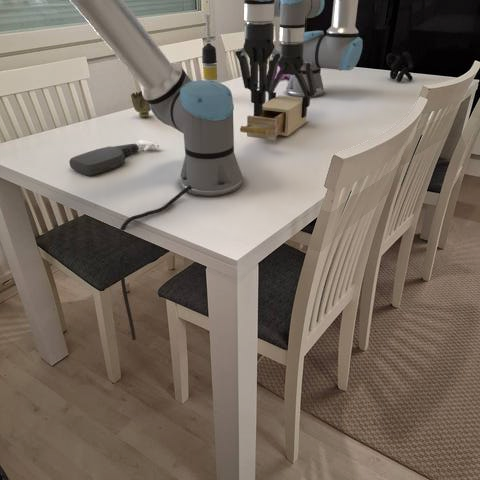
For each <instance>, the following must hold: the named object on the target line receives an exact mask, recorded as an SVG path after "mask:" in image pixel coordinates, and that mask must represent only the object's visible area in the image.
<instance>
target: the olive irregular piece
mask: <svg viewBox="0 0 480 480" xmlns="http://www.w3.org/2000/svg"><path fill="white" fill-rule="evenodd" d="M142 91H143V90H140V91H138V92H137V91H135V92H133V93H131V94H130V98H131V103H132V106H133V109H134V111H136V112H137V113H138V116H139V117H140V118H147V117H149V116H150V111H152V110H151V108H150V105H149V103H148V102H147V101H146V100H145V99H144V97H143V95H142Z"/></svg>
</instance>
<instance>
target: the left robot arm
mask: <svg viewBox="0 0 480 480" xmlns="http://www.w3.org/2000/svg"><path fill="white" fill-rule="evenodd" d="M69 2H70V3H71V4H72V5H73V6H74V7H75V9H76V10H77V11H78V12H79V13H80V15H81V16H82V17H83V18H84V19H85V20H86V21H87V23H88V24H89V26H91V28H92V29H93V30H94V31H95V32H96V34H97V35H98V36H99V37H100V38H101V39H102V41H103V42H104V43H105V44H106V45H107V46H108V48H109V49H111V51H112V53H113V54H114V55H115V56H116V58H118V59H119V61H120V62H121V63H122V64H123V65H124V67H125V68H126V69H127V70H128V71H129V73H130V74H131V75H132V76H133V77H134V78H135V80H136V81H137V82H138V83H139V84H140V85H141V87H142V90H141V91H142V95H143V97H144V99H145V100H146V101H147V102H148V103H149V105H150V108H151V110H150V111H151V112H152V114H153V115H154V117H156V118H157V119H158V121H160V122H161V123H163V124H164V125H166V126H170V127H171V128H172V129H175V130H177V131H178V132H180V133H182V134H183V143H184V154H185V155H184V158H183V164H182V168H181V171H180V177H179V178H180V179H179V183H180V184H179V185H180V188H181V189H182V190H181V191H179V192H178V193H177V194H176V195H175V196H174V197H173V198H171V199H169V201H167V203H165V204H164V205H163V206H161V207H159V208H155V209H152V210H148V211H146V212H143V213H140V214H136V215H132V216H130V217H129V218H127V219H125V220H124V222H123V223H122V225H121V227H120V228H119V230H120V231H124V230H125V229H126V227H128V225H129V224H130V223H131V222H132V221H136V220H139V219H142V218H145V217H148V216H151V215H155V214H158V213H161V212H163V211H165V210H166V209H169V207H171V205H172V204H174V203H175V202H177V200H178V199H180V198H181V197H182V196H183V195H184V194H186V193H187V194H190V195H194V196H199V197H221V196H224V195H229V194H232V193H234V192H235V191H237V190H239V189H240V188H241V187H242V185H243V174H242V171H241V168H240V165H239V163H238V160H237V157H236V154H235V132H234V131H235V130H234V127H235V126H234V110H235V106H234V100H233V98H234V97H233V94H232V91H231V89H230V88H229V87H228V86H227V85H225V84H223V83H221V82H218V81H215V82H210V81H208V80H204V79H203V80H192V79H191V77H189V75H188V73H186V71H185V70H184V68H183V67H182V65H180V64H179V63H173V62H170V60H169V59H168V58H167V57H166V55H165V54H164V52H163V51H162V50H161V48H160V47H159V46H158V45H157V43H156V42H155V40H154V39H153V38H152V36H151V35H150V34H149V32H148V31H147V30H146V29H145V27H144V26H143V24H142V23H141V22H140V20H139V19H138V18H137V16H136V15H135V14H134V12H133V11H132V10H131V8H130V7H129V6H128V5H127V3H126V2H125V1H124V0H69ZM243 2H244V15H243V19H244V22H246V23H245V24H244V43H243V45H242V48H240V49H239V50H236V51H235V52H234V53H235V57H236V58H237V60H238V62H239V68H240V73H241V77H242V82H243V88H244V89H247V90H249V91H250V102H251V104H253V116H258V117H259V116H260V115H262V111H263V104H264V103H265V102H267V101H266V100H267V99H266V97H267V92H266V91H268V90H270V89H272V88H273V84H274V80H275V76H276V72H277V73H278V64H279V61H280V59H281V58H282V56H283V53H281V52H280V53H279V50H277V49H276V46H275V43H274V37H275V36H274V35H275V24H274V23H273V22H274V20H275V17H274V0H243ZM247 57H248V59H249V63H248V59H247ZM270 57H271V60H272V59H273V60H272V62H271V66H270V70H269V69H268V65H269V59H270ZM249 65H250V66H249ZM268 70H269V74H268V78H267V73H268ZM118 263H119V277H120V284H121V291H122V296H123V299H124V300H123V301H124V305H125V309H126V313H127V318H128V322H129V328H130V332H131V333H130V334H131V338H132V339H131V340H132V341H135V340H137V338H136V332H135V326H134V321H133V316H132V311H131V307H130V303H129V298H128V293H127V287H126V286H127V285H126V279H125V272H124V271H125V268H124V267H125V266H124V257H121V256H119V257H118Z"/></svg>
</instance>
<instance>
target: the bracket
mask: <svg viewBox="0 0 480 480" xmlns="http://www.w3.org/2000/svg"><path fill="white" fill-rule="evenodd" d="M279 70H280V67H279V66H278V68H277V72H276V76H277V74H278V72H279ZM276 76H275V78H276ZM285 76H286V77H289V78H290V76H291V75H290V74H287V75H286V74H284V75H283V77H282V78H281V80H286V78H285ZM281 80H280V81H281Z"/></svg>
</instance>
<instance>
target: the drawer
mask: <svg viewBox="0 0 480 480" xmlns="http://www.w3.org/2000/svg"><path fill="white" fill-rule="evenodd" d="M285 121H286V112H277V111H269V110H263V111H262V115H260V116H259V117H258V116H254V115H247V117H246V125H240V127H239V132H240V133H245V134H246V137H248V138H256V139H262V140H270V141H276V140H277V136H279V135H278V134H280V133H281V132H283V131H284V130H285Z"/></svg>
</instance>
